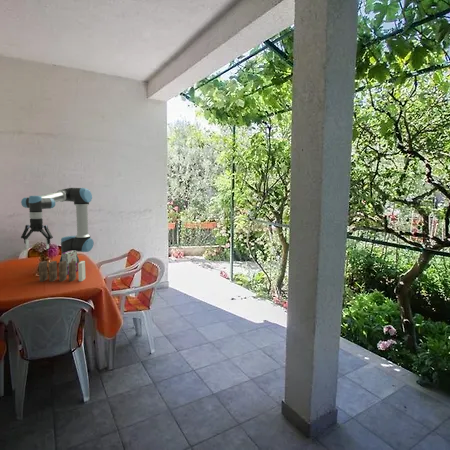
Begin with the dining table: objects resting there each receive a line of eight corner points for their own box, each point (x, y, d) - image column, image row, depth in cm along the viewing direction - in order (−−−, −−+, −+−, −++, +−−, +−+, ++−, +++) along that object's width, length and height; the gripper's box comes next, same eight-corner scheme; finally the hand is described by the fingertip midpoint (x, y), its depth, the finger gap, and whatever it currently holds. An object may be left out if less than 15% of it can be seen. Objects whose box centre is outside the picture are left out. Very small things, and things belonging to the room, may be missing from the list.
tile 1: (39, 281, 217) (38, 263, 216) (44, 278, 224) (43, 261, 223) (43, 281, 218) (42, 263, 216) (47, 278, 225) (46, 261, 223)
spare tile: (78, 281, 220) (78, 263, 219) (82, 278, 227) (81, 260, 226) (82, 281, 221) (81, 263, 219) (85, 278, 228) (85, 260, 226)
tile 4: (69, 281, 220) (68, 263, 218) (72, 278, 226) (72, 260, 225) (72, 281, 220) (71, 263, 218) (76, 278, 227) (75, 260, 225)
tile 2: (49, 281, 218) (48, 263, 217) (53, 278, 225) (53, 260, 223) (53, 281, 218) (52, 263, 217) (57, 278, 225) (56, 260, 224)
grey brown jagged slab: (59, 281, 219) (58, 263, 217) (63, 278, 226) (62, 260, 224) (62, 281, 219) (62, 263, 218) (66, 278, 226) (66, 260, 224)
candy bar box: (72, 270, 247) (71, 250, 245) (77, 271, 246) (77, 250, 244) (62, 274, 236) (61, 253, 234) (68, 274, 235) (67, 253, 233)
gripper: (14, 218, 211) (15, 249, 213) (52, 219, 212) (53, 249, 215) (20, 217, 218) (22, 247, 221) (57, 218, 220) (58, 247, 222)
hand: (37, 248), depth 218 cm, fingers open, 13 cm apart
